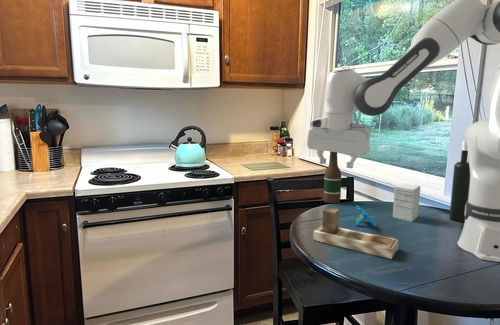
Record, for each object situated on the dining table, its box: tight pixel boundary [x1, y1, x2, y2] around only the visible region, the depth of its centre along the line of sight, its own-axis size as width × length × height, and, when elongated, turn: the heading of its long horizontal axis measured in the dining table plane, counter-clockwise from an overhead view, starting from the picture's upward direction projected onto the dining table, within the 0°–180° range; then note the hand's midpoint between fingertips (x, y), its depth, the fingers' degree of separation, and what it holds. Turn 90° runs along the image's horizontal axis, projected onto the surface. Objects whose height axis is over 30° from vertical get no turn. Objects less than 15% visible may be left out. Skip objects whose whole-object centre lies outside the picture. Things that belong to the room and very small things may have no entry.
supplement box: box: [392, 182, 421, 223], centre depth 133 cm, size 7×7×13 cm
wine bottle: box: [449, 140, 470, 223], centre depth 128 cm, size 6×6×30 cm
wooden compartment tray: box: [312, 225, 399, 260], centre depth 109 cm, size 24×8×3 cm, turn 55°
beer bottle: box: [323, 151, 342, 204], centre depth 154 cm, size 8×8×24 cm
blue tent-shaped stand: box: [355, 205, 378, 228], centre depth 126 cm, size 11×6×10 cm
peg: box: [321, 207, 340, 235], centre depth 113 cm, size 4×4×10 cm
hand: (335, 165), depth 111 cm, fingers open, 8 cm apart
